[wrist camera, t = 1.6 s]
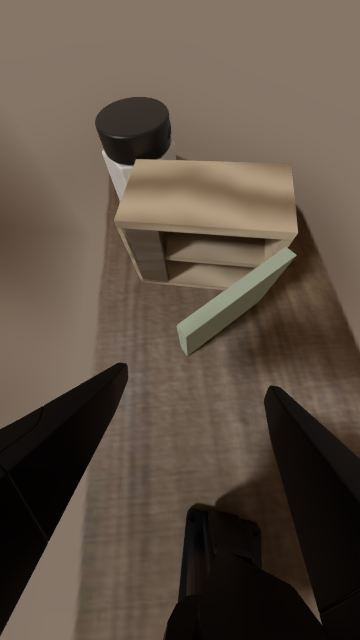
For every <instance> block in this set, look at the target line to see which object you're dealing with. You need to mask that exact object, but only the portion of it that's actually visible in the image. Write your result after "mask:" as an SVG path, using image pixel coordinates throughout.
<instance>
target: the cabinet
mask: <svg viewBox="0 0 360 640" xmlns="http://www.w3.org/2000/svg"><path fill="white" fill-rule="evenodd" d="M114 222H115V224H116V227H117V229H118V231H119V233H120V235H121V238H122V240H123V242H124V244H125V246H126V249H127V251H128V253H129V255H130V257H131V260H132V262H133V264H134V266H135V268H136V271H137V273H138V275H139V277H140V279H141V282H148V283H158V284H168V285H178V286H188V287H198V288H208V289H218V290H226V289H228V288H229V287H230V286H232V285H233V284H235V283H236V282H237V281H239V280H240V279H242V278H243V277H244V276H246V275H247V274H248V273H250V272H251V271H253V270H254V269H255V268H257V267H258V266H260V265H261V264H262V263H264V262H265V261H267V260H268V259H269V258H271V257H272V256H273V255H275V254H276V253H278V252H279V251H280V250H282V249H283V248H285V247H287V248H288V247H289V245H290V244H291V242H292V241H293V239H294V238H295V237H296V235H297V234H298V227H297V217H296V208H295V198H294V189H293V179H292V169H291V164H277V163H244V162H213V161H211V162H210V161H181V160H149V159H136V161H135V164H134V166H133V169H132V172H131V175H130V177H129V180H128V183H127V186H126V188H125V191H124V194H123V197H122V199H121V202H120V205H119V208H118V210H117V213H116V216H115V219H114Z"/></svg>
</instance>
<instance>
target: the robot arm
mask: <svg viewBox="0 0 360 640" xmlns="http://www.w3.org/2000/svg"><path fill="white" fill-rule="evenodd" d="M127 381H128V366H127V364H126V363H117V364H115V365H113V366H112V367H110V368H108V369H106V370H105V371H103V372H101V373H99V374H98V375H96V376H94V377H92V378H91V379H89V380H87V381H85V382H84V383H82V384H80V385H79V386H77V387H75V388H73V389H72V390H70V391H68V392H66V393H65V394H63V395H61V396H59V397H58V398H56V399H54V400H52V401H51V402H49V403H47V404H46V405H44V407H43V406H42V407H40V408H38V409H37V410H35V411H33V412H31V413H30V414H28V415H26V416H24V417H23V418H21V419H19V420H17V421H15V422H13V423H12V424H9V425H7V426H6V427H4V428H2V429H0V635H1V634H2V632H3V630H4V628H5V626H6V624H7V622H8V620H9V618H10V616H11V614H12V612H13V610H14V608H15V606H16V604H17V602H18V600H19V599H20V596H21V594H22V593H23V591H24V589H25V587H26V585H27V583H28V581H29V579H30V577H31V575H32V573H33V571H34V569H35V567H36V565H37V563H38V561H39V560H40V558H41V556H42V554H43V552H44V550H45V548H46V546H47V544H48V541H49V540H50V538H51V536H52V534H53V532H54V530H55V528H56V526H57V524H58V523H59V521H60V519H61V517H62V515H63V513H64V511H65V509H66V507H67V505H68V503H69V501H70V499H71V497H72V495H73V493H74V491H75V489H76V488H77V486H78V484H79V482H80V480H81V478H82V476H83V474H84V472H85V470H86V468H87V466H88V464H89V462H90V460H91V458H92V457H93V455H94V453H95V451H96V449H97V447H98V445H99V443H100V441H101V439H102V437H103V435H104V433H105V431H106V429H107V427H108V425H109V424H110V422H111V420H112V418H113V416H114V414H115V412H116V409H117V407H118V404H119V402H120V399H121V397H122V394H123V391H124V389H125V386H126V384H127ZM264 406H265V411H266V417H267V423H268V429H269V434H270V439H271V443H272V447H273V451H274V454H275V458H276V461H277V465H278V468H279V472H280V475H281V479H282V483H283V486H284V490H285V493H286V497H287V500H288V504H289V507H290V511H291V515H292V518H293V522H294V525H295V529H296V532H297V536H298V540H299V543H300V547H301V550H302V554H303V557H304V561H305V564H306V568H307V572H308V575H309V579H310V582H311V586H312V589H313V593H314V597H315V600H316V604H317V607H318V611H319V613H320V619H321V622H322V625H321V623H320V622H319V621H318V619H317V618H316V617H315V615H314V614H313V613H312V611H311V610H310V609H309V607H308V606H307V605H306V603H305V602H304V600H303V599H302V598H301V596H300V595H299V594H298V592H297V591H296V590H295V589H294V587H292V586H291V585H290V584H288V583H286V582H284V581H282V580H280V579H278V578H277V577H275V576H273V575H271V574H269V573H267V572H265V571H263V570H261V531H260V528H259V526H258V525H257V524H256V523H255V522H252V521H248V520H243V519H240V518H239V517H238V516H237V515H233V514H229V513H224V512H219V511H215V510H210V511H209V512H207V511H202V510H198V509H193V508H191V509H189V510H188V512H187V517H186V527H185V537H184V547H183V557H182V567H181V576H180V586H179V596H178V603H177V604H176V606H175V608H174V610H173V612H172V614H171V616H170V618H169V620H168V623H167V627H166V631H165V634H164V638H163V640H360V458H359V457H357V456H356V455H355V454H354V453H353V452H352V451H351V450H350V449H348V448H347V447H346V446H345V445H344V444H343V443H342V442H341V441H340V440H338V439H337V438H336V437H335V436H334V435H333V434H332V433H331V432H330V431H328V430H327V429H326V428H325V427H324V426H323V425H322V424H321V423H319V422H318V421H317V420H316V419H315V418H314V417H313V416H312V415H311V414H309V413H308V412H307V411H306V410H305V409H304V408H303V407H302V406H301V405H299V404H298V403H297V402H296V401H295V400H294V399H293V398H292V397H290V396H289V395H288V394H287V393H286V392H285V391H284V390H283V389H282V388H280V387H278V386H269V388H268V390H267V393H266V396H265V398H264ZM190 515H194V516H195V518H194V519H191V518H190ZM253 529H257V531H256V533H253V532H252V530H253Z"/></svg>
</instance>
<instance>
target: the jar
mask: <svg viewBox="0 0 360 640" xmlns="http://www.w3.org/2000/svg"><path fill="white" fill-rule="evenodd" d="M95 125H96V129H97V131H98V134H99V137H100V140H101V142H102V145H103V148H104V150H103V151H102V154H103V157H104V159H105V162H106V165H107V167H108V170H109V173H110V175H111V178H112V181H113V183H114V186H115V189H116V192H117V194H118V197H119V200H120V202H121V199H122V197H123V194H124V191H125V188H126V186H127V183H128V180H129V177H130V175H131V172H132V169H133V166H134V164H135V161H136V159H149V160H176V156H175V141H174V140H173V139H171V126H170V125H171V124H170V120H169V111H168V109H167V107H166V106H165V105H164V104H163V103H162V102H160V101H158V100H156V99H152V98H147V97H132V98H126V99H122V100H118V101H116V102H113V103H111V104H109V105H108V106H106V107H105V108H103V109H102V110H101V111H100V112H99V114H98V115H97V117H96V120H95Z"/></svg>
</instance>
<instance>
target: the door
mask: <svg viewBox="0 0 360 640" xmlns="http://www.w3.org/2000/svg"><path fill="white" fill-rule="evenodd" d="M295 257H296V254H295V253H293V252H292V251H291V250H289V249H288V248H287V247H285V248H283V249H282V250H280V251H279V252H278V253H276V254H275V255H273V256H272V257H271V258H269V259H268V260H267V261H265V262H264V263H262V264H261V265H260V266H258V267H257V268H255V269H254V270H253V271H251V272H250V273H248V274H247V275H246V276H244V277H243V278H242V279H240V280H239V281H237V282H236V283H235V284H233V285H232V286H230V287H229V288H228V289H226V290H225V291H223V292H222V293H221V294H219V295H218V296H216V297H215V298H214V299H212V300H211V301H210V302H208V303H207V304H205V305H204V306H203V307H201V308H200V309H198V310H197V311H196V312H194V313H193V314H191V315H190V316H189V317H187V318H186V319H185V320H183V321H182V322H180V323H179V324H178V325H177V329H178V334H179V339H180V344H181V348H182V350H183V351H184V352H185V354H186V355H187V356H189V355H190V354H191V353H192V352H194V351H195V350H196V349H198V348H199V347H200V346H202V345H203V344H204V343H205V342H207V341H208V340H209V339H211V338H212V337H213V336H215V335H216V334H217V333H219V332H220V331H221V330H222V329H224V328H225V327H226V326H228V325H229V324H230V323H232V322H233V321H234V320H236V319H237V318H238V317H239V316H241V315H242V314H243V313H245V312H246V311H247V310H249V309H250V308H251V307H252V306H254V305H255V304H256V303H258V302H259V301H260V300H261V299H262V298H263V296H264V295H265V294H266V293H267V291H268V290H269V289H270V288H271V286H272V285H273V284H274V283H275V281H276V280H277V279H278V278H279V276H280V275H281V274H282V273H283V271H284V270H285V269H286V268H287V267H288V265H289V264H290V263H291V262H292V260H293V259H294V258H295Z"/></svg>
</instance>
